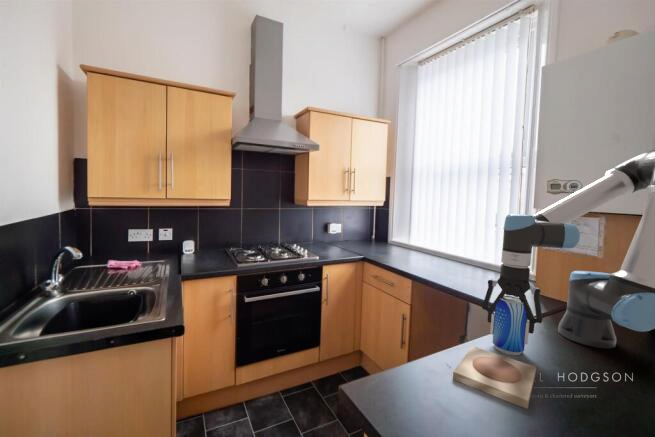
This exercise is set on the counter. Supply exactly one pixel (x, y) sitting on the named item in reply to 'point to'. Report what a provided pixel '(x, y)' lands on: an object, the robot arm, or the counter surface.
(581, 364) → the counter surface
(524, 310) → the beer can
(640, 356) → the counter surface
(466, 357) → the birch board
